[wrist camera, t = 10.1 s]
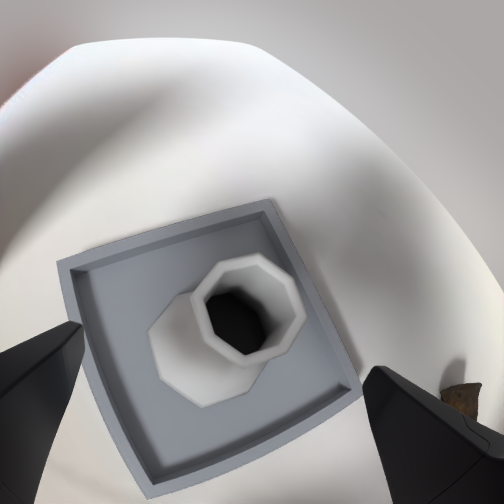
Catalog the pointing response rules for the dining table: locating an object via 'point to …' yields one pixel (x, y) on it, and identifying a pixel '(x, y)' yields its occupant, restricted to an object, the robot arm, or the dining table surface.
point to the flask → (227, 329)
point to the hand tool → (463, 398)
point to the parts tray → (144, 369)
